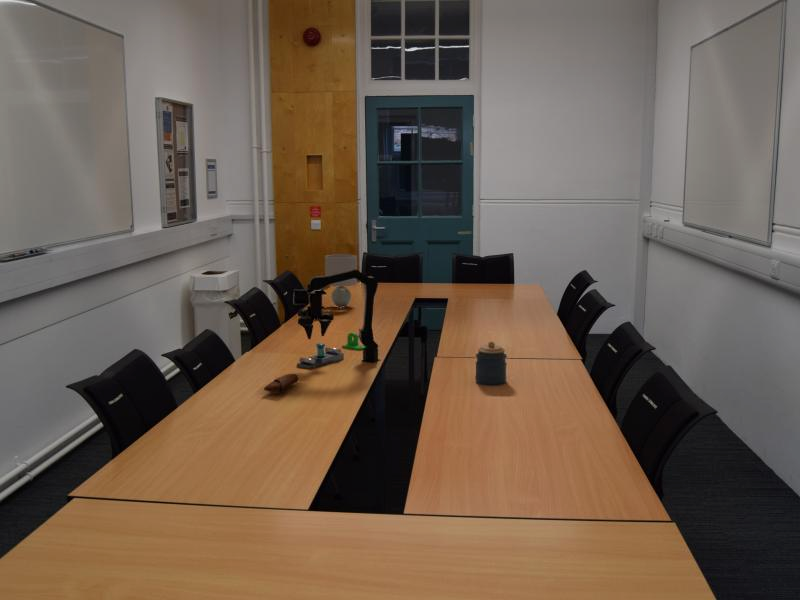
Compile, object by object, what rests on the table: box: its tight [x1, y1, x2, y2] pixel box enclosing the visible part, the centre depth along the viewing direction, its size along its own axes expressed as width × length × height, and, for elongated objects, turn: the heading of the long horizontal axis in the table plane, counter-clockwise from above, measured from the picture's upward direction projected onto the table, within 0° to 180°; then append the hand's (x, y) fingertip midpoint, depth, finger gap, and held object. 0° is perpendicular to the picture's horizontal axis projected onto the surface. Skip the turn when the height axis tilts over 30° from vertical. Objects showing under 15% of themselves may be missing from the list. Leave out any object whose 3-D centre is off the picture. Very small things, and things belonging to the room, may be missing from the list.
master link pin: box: [315, 342, 326, 358], centre depth 374 cm, size 4×4×9 cm
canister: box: [474, 341, 508, 387], centre depth 338 cm, size 13×13×18 cm
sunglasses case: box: [263, 373, 299, 395], centre depth 330 cm, size 18×7×7 cm
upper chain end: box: [307, 346, 345, 363], centre depth 378 cm, size 8×16×5 cm, turn 145°
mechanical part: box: [341, 331, 365, 351], centre depth 404 cm, size 12×6×8 cm, turn 52°
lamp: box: [324, 254, 358, 307], centre depth 518 cm, size 20×20×35 cm
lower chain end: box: [296, 357, 334, 370], centre depth 371 cm, size 8×16×4 cm, turn 145°
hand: (316, 337), depth 371 cm, fingers open, 9 cm apart
